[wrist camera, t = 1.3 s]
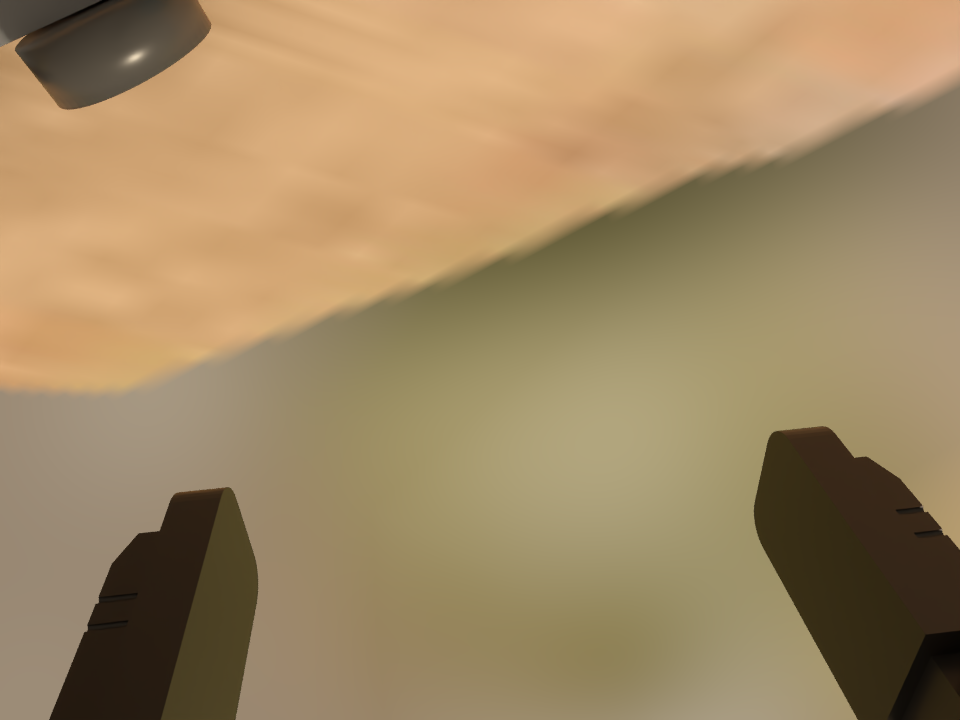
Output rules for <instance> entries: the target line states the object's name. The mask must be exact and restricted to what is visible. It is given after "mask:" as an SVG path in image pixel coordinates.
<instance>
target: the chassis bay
mask: <svg viewBox="0 0 960 720" xmlns="http://www.w3.org/2000/svg"><path fill="white" fill-rule="evenodd" d="M210 29H211V22H210V21H209V19H208V17H207V16H206V14H205V12H204V11H203V9H202V7H201V5H200V4H199V2H198V0H0V47H1V46H3V45H5V44H8V43H10V42H12V41H14V40H16V39H18V38H21V37H23V36H25V35H26V36H25V37H24V38H23V39H22V40H21V41H20V42H19V43H18V45H17V46H16V48H15V51H16V52H17V54H18V55H19V56H20V57H21V59H22V60H23V61H24V63H25V64H26V65H27V66H28V68H29V69H30V70H31V71H32V73H33V74H34V75H35V77H36V78H37V79H38V80H39V82H40V83H41V84H42V85H43V87H44V88H45V89H46V91H47V92H48V93H49V94H50V96H51V97H52V98H53V99H54V101H55V102H56V103H57V105H58V106H59V107H60V108H62V109H67V110H68V109H77V108H82V107H86V106H90V105H93V104H96V103H99V102H102V101H104V100H107V99H109V98H112V97H114V96H116V95H119V94H121V93H123V92H125V91H127V90H129V89H131V88H133V87H135V86H137V85H139V84H141V83H143V82H145V81H147V80H148V79H150V78H152V77H154V76H155V75H157V74H159V73H160V72H162V71H163V70H165V69H167V68H168V67H170V66H171V65H173V64H174V63H176V62H177V61H178V60H180V59H181V58H182V57H184V56H185V55H186V54H188V53H189V52H190V51H191V50H193V49H194V48H195V47H196V46H197V45H198V44H199V43H200V42H201V41H202V40H203V39H204V38H205V37H206V35H207V34H208V33H209V31H210ZM27 34H28V35H27Z"/></svg>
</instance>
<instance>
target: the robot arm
mask: <svg viewBox="0 0 960 720" xmlns="http://www.w3.org/2000/svg"><path fill="white" fill-rule="evenodd" d="M754 519H755V526H756V530H757V534H758V537H759V540H760V542H761V544H762V546H763V548H764V550H765V552H766V554H767V556H768V557H769V559H770V561H771V563H772V565H773V567H774V568H775V570H776V572H777V574H778V576H779V577H780V579H781V581H782V583H783V584H784V586H785V588H786V590H787V592H788V594H789V595H790V597H791V599H792V601H793V602H794V605H795V606H796V608H797V610H798V612H799V613H800V616H801V617H802V619H803V621H804V623H805V625H806V626H807V628H808V630H809V632H810V634H811V635H812V637H813V639H814V641H815V643H816V645H817V646H818V648H819V650H820V652H821V654H822V655H823V657H824V659H825V661H826V663H827V664H828V666H829V668H830V670H831V672H832V673H833V675H834V677H835V679H836V681H837V682H838V684H839V686H840V688H841V690H842V692H843V693H844V695H845V697H846V699H847V701H848V703H849V704H850V706H851V708H852V710H853V712H854V713H855V715H856V717H857V719H858V720H960V550H959V549H958V547H957V546H956V545H955V544H954V543H953V541H952V540H951V539H950V538H949V537H948V536H947V535H945V536H944V535H943V533H942V528H941V527H940V526H939V525H938V523H937V522H936V521H935V520H934V519H933V517H931V515H930V514H929V513H928V512H924V510H923V506H922V504H921V503H920V502H919V501H918V500H917V498H916V497H915V496H914V495H913V494H912V492H911V491H910V490H909V489H908V488H907V487H906V485H905V484H904V483H903V482H902V481H901V479H899V478H898V477H897V476H895V475H893V474H892V473H891V472H889V471H888V470H886V469H885V468H883V467H881V466H880V465H878V464H877V463H876V462H874V461H873V460H871V459H870V458H868V457H858V458H854V457H853V456H852V455H851V453H850V452H849V451H848V449H847V448H846V447H845V446H844V444H843V443H842V442H841V441H840V439H839V438H838V437H837V435H836V434H835V433H834V432H833V431H832V430H831V429H829V428H828V427H823V426H821V427H812V428H802V429H792V430H783V431H776V432H773V433H772V434H771V436H770V438H769V440H768V443H767V448H766V452H765V457H764V462H763V466H762V471H761V476H760V480H759V485H758V490H757V495H756V499H755V505H754ZM257 596H258V573H257V565H256V560H255V556H254V553H253V550H252V547H251V543H250V540H249V537H248V534H247V531H246V528H245V525H244V521H243V519H242V515H241V512H240V509H239V506H238V503H237V500H236V497H235V494H234V492H233V491H232V489H231V488H229V487H226V488H216V489H207V490H199V491H188V492H179V493H176V494H175V495H174V496H173V497H172V499H171V501H170V503H169V506H168V509H167V512H166V515H165V518H164V521H163V523H162V526H161V529H160V531H157V532H148V533H139V534H138V535H137V536H136V537H135V538H134V539H133V540H132V542H131V543H130V544H129V545H128V546H127V547H126V548H125V550H124V551H123V552H122V553H121V554H120V555H119V556H118V558H117V559H116V560H115V561H114V562H113V563H112V565H111V567H110V570H109V572H108V575H107V577H106V580H105V583H104V585H103V587H102V590H101V592H100V595H99V603H98V604H96V605H95V607H94V610H93V612H92V615H91V617H90V620H89V622H88V631H87V632H84V635H83V637H82V639H81V642H80V645H79V647H78V649H77V652H76V655H75V657H74V660H73V662H72V665H71V667H70V669H69V672H68V674H67V677H66V679H65V682H64V684H63V687H62V689H61V692H60V694H59V697H58V699H57V702H56V704H55V707H54V709H53V712H52V714H51V717H50V719H49V720H235V719H236V713H237V708H238V702H239V697H240V691H241V685H242V680H243V675H244V669H245V664H246V658H247V653H248V647H249V642H250V636H251V631H252V625H253V620H254V615H255V609H256V604H257Z"/></svg>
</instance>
